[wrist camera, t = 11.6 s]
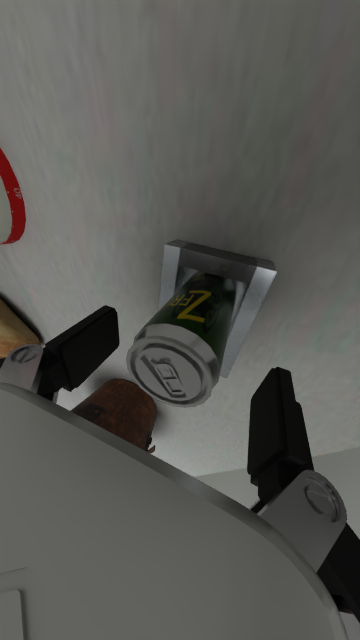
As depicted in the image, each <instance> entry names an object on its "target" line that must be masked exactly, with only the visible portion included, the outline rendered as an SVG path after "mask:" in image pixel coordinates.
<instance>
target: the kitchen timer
mask: <svg viewBox="0 0 360 640" xmlns="http://www.w3.org/2000/svg"><path fill="white" fill-rule="evenodd" d="M25 221H26V216H25V207H24V201H23V197H22V194H21V191H20V187H19V184H18V181H17V179H16V177H15V174H14V172H13V170H12V168H11V166H10V163H9V161H8V160H7V158H6V156H5V155H4V153H3V152H2V150H1V148H0V244H8V243H13V242H15V241H17V240H19V239H20V237H21V236H22V234H23V232H24V228H25Z"/></svg>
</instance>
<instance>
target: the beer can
mask: <svg viewBox="0 0 360 640" xmlns="http://www.w3.org/2000/svg"><path fill="white" fill-rule="evenodd" d="M235 300H236V290H235V287H234V285H233V283H232V281H231V280H230V279H228V278H224V277H221V276H217V275H213V274H209V273H206V272H202V271H199V272H197V273H196V274H194V275H193V276H192V277H191V278H190V279H189V280H188V281H187V282H186V283H185V284H184V285H183V286H182V287H181V288H180V289H179V290H178V291H177V292H176V293H175V294H174V296H173V297H172V298H171V299H170V300H169V301H168V302H167V303H166V304H165V305H164V306H163V307H162V308H161V309H160V310H159V311H158V312H157V313H156V314H155V316H154V317H153V318H152V319H151V320H150V321H149V322H148V323H147V324H146V325H145V326H144V327H143V328H142V329H141V330H140V332H139V333H138V334H137V335H136V336H135V338H134V342H133V345H132V347H131V348H130V349H129V350H128V353H127V358H126V362H127V367H128V370H129V372H130V374H131V376H132V378H133V380H134V381H135V382H136V383H137V384H138V385H139V387H140V388H141V389H143V390H144V391H145V392H146V393H147V394H149V395H150V396H152V397H153V398H155V399H157V400H159V401H161V402H163V403H166V404H169V405H172V406H177V407H184V408H186V407H196V406H198V405H200V404H202V403H204V402H205V401H206V400H207V399H208V398H209V397H210V395H211V391H212V389H213V387H214V386H215V385H216V384H217V383H218V380H219V376H220V371H221V366H222V361H223V357H224V352H225V347H226V343H227V338H228V333H229V328H230V324H231V319H232V314H233V310H234V305H235Z"/></svg>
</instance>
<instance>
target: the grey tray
mask: <svg viewBox="0 0 360 640" xmlns="http://www.w3.org/2000/svg"><path fill="white" fill-rule="evenodd" d="M199 271H202V272H206V273H209V274H213V275H217V276H221V277H224V278H228V279H230V280H231V281H232V283H233V285H234V287H235V290H236V300H235V305H234V310H233V314H232V319H231V324H230V328H229V333H228V338H227V343H226V347H225V352H224V357H223V361H222V366H221V371H220V376H222V377H225V378H227V377H228V375H229V372H230V370H231V368H232V366H233V364H234V362H235V360H236V357H237V355H238V353H239V351H240V349H241V347H242V345H243V343H244V340H245V338H246V336H247V334H248V332H249V330H250V328H251V325H252V323H253V321H254V319H255V317H256V315H257V313H258V311H259V308H260V306H261V304H262V302H263V300H264V298H265V296H266V293H267V291H268V289H269V287H270V285H271V283H272V281H273V279H274V276H275V274H276V272H277V271H276V268H275V266H274V263H273V262H269V261H265V260H260V259H256V258H252V257H248V256H244V255H239V254H235V253H231V252H227V251H222V250H218V249H214V248H210V247H205V246H201V245H197V244H193V243H189V242H184V241H180V240H174V241H171V242H169V243H166V244H164V254H163V264H162V274H161V284H160V295H159V305H158V311H159V310H160V309H161V308H162V307H163V306H164V305H165V304H166V303H167V302H168V301H169V300H170V299H171V298H172V297H173V296H174V294H175V293H176V292H177V291H178V290H179V289H180V288H181V287H182V286H183V285H184V284H185V283H186V282H187V281H188V280H189V279H190V278H191V277H192V276H193V275H194V274H196V273H197V272H199Z"/></svg>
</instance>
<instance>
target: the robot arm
mask: <svg viewBox="0 0 360 640" xmlns="http://www.w3.org/2000/svg"><path fill="white" fill-rule="evenodd" d="M45 346H46V347H45V348H42V346H40V345H37V344H28V345H23V346H20V347H18V348H16V349H14V350H13V351H11V352H10V353H9V354H8V356H7V357H6V358H1V359H0V640H360V539H359V538H358V537H357V536H356V534H355V533H354V532H353V530H352V529H351V528H350V526H349V525H348V524H347V522H346V521H347V514H346V509H345V506H344V503H343V500H342V499H341V497H340V495H339V493H338V492H337V490H336V489H335V488H334V486H333V485H332V484H331V483H330V482H329V481H328V480H327V479H326V478H325V477H324V476H322V475H321V474H319V473H318V472H315V471H314V467H313V463H312V457H311V452H310V447H309V442H308V437H307V432H306V427H305V422H304V417H303V412H302V408H301V405H300V404H299V403H298V402H296V400H295V394H294V388H293V383H292V377H291V372H290V371H288V370H285V369H283V368H280V367H276V368H275V369H274V368H272V369H271V370H270V371H269V373H268V374H267V376H266V377H265V379H264V380H263V382H262V383H261V385H260V386H259V388H258V389H257V390H256V392H255V393H254V395H253V396H252V399H251V405H250V425H249V444H248V464H247V472H248V474H250V475H251V483H252V484H254V485H255V486H258V496H259V499H258V500H257V501H256V502H255V503H254V504H253V505H252V506H251V507H250V508H249V509H248V508H246V507H245V506H243V505H241V504H240V503H238V502H237V501H235V500H233V499H231V498H230V497H228V496H226V495H224V494H223V493H221V492H219V491H217V490H215V489H213V488H212V487H210V486H208V485H207V484H205V483H203V482H201V481H199V480H197V479H196V478H194V477H192V476H190V475H188V474H187V473H185V472H183V471H181V470H179V469H177V468H175V467H174V466H172V465H170V464H168V463H166V462H164V461H163V460H161V459H159V458H157V457H155V456H153V455H151V454H150V453H148V452H146V451H144V450H142V449H140V448H138V447H136V446H135V445H133V444H131V443H129V442H127V441H125V440H123V439H122V438H120V437H118V436H116V435H114V434H112V433H110V432H108V431H107V430H105V429H103V428H101V427H99V426H97V425H95V424H93V423H92V422H90V421H88V420H86V419H84V418H82V417H80V416H78V415H76V414H74V413H73V412H71V411H69V410H67V409H65V408H63V407H61V406H59V405H57V404H56V402H57V397H58V392H59V390H60V389H61V388H62V387H63V388H64V389H66V390H68V391H70V392H71V391H72V390H73V389H74V388H77V387H79V386H80V385H81V384H82V383H83V382H84V381H85V380H86V379H87V378H88V377H89V376H90V375H91V374H92V373H93V372H94V371H95V370H96V369H97V368H98V367H99V366H100V365H101V364H102V363H103V362H104V361H105V360H106V359H107V358H108V357H109V356H110V355H111V354H112V353H113V352H114V351H115V350H116V349H117V348H118V346H119V329H118V316H117V312H116V310H115V308H112V307H109V306H107V305H105V306H103V307H102V308H100V309H98V310H97V311H95V312H94V313H92V314H91V315H89V316H88V317H86V318H85V319H83V320H81V321H80V322H78V323H77V324H75V325H74V326H72V327H71V328H69V329H68V330H66V331H65V332H63V333H61V334H60V335H58V336H57V337H55V338H54V339H52V340H51V341H49V342H48V343H46V344H45Z"/></svg>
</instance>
